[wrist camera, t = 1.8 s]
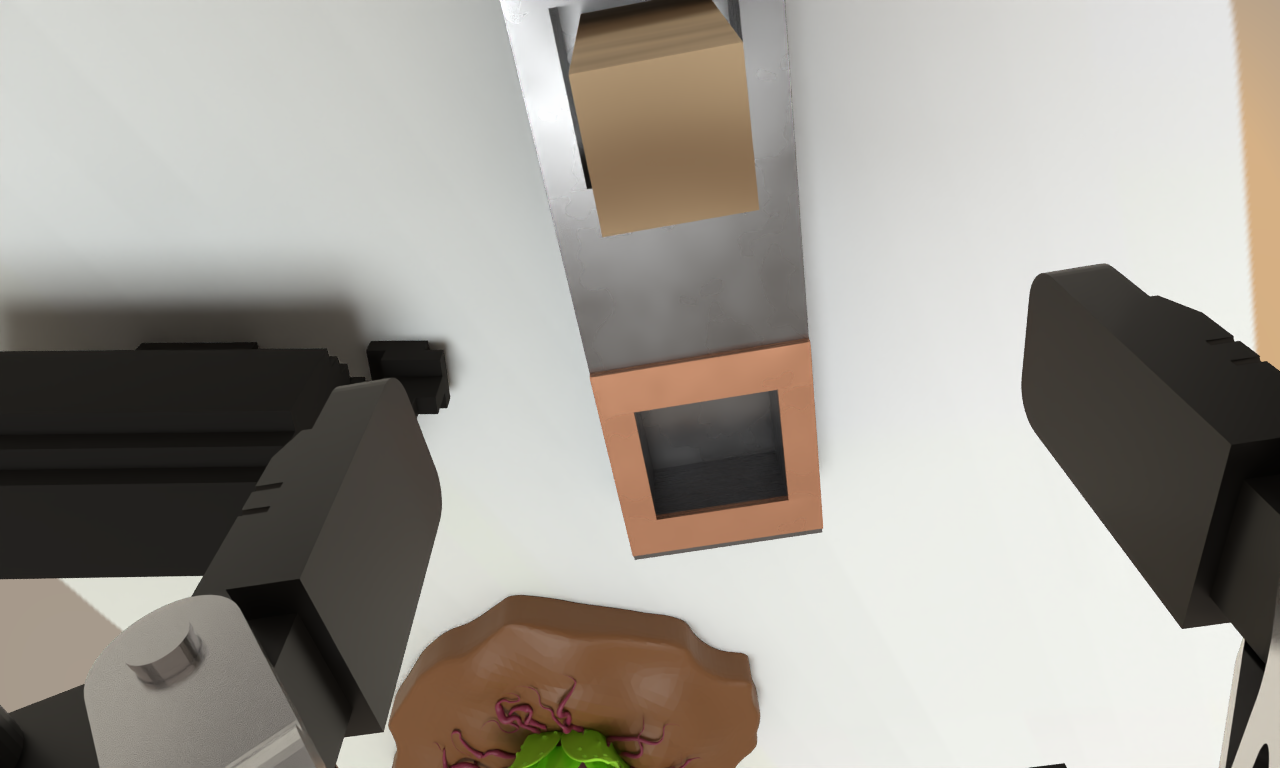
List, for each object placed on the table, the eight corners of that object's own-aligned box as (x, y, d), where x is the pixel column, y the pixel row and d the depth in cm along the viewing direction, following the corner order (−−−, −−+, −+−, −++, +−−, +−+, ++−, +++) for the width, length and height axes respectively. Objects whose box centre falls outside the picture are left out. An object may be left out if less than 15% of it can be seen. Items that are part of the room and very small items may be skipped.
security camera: (459, 432, 36) (413, 605, 28) (31, 437, 36) (-149, 615, 27) (439, 289, 32) (379, 439, 24) (-38, 292, 32) (-272, 447, 23)
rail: (499, -82, 26) (480, -73, 22) (753, -133, 25) (777, -133, 22) (632, 498, 38) (635, 565, 35) (803, 472, 38) (823, 537, 34)
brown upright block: (580, 13, 26) (568, 74, 19) (704, -10, 26) (742, 41, 18) (604, 137, 28) (602, 237, 21) (719, 116, 28) (759, 209, 21)
